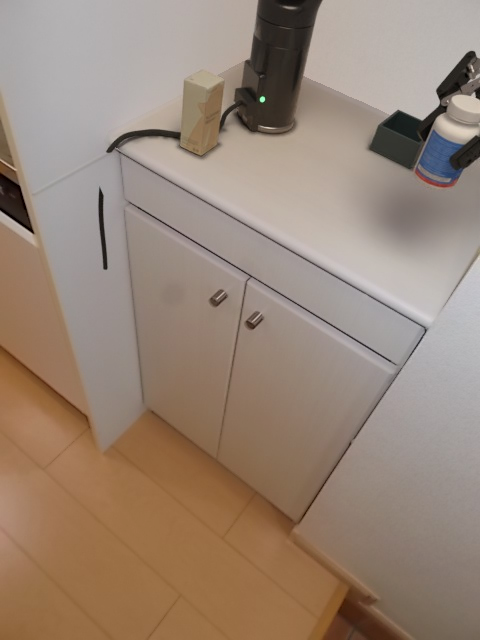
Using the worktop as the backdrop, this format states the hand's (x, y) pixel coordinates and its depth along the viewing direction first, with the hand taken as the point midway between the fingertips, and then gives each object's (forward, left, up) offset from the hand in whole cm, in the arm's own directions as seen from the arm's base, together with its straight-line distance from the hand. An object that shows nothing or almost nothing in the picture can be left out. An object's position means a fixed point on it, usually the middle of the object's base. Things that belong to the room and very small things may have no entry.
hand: (436, 150), depth 61 cm
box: (-16, +32, -17) cm, 40 cm away
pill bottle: (+2, 0, -4) cm, 5 cm away
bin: (+18, +23, -17) cm, 34 cm away
